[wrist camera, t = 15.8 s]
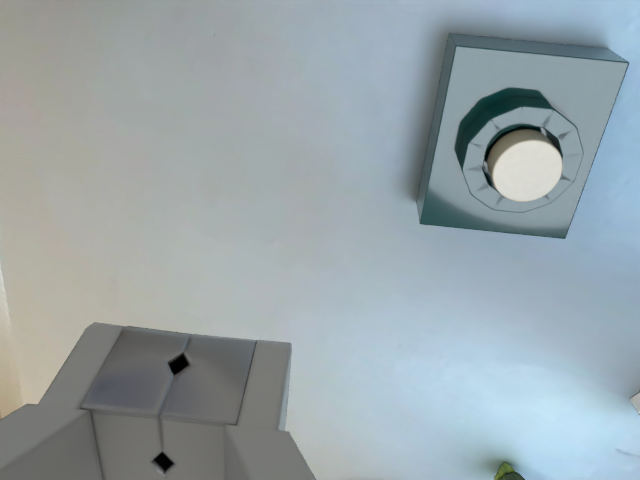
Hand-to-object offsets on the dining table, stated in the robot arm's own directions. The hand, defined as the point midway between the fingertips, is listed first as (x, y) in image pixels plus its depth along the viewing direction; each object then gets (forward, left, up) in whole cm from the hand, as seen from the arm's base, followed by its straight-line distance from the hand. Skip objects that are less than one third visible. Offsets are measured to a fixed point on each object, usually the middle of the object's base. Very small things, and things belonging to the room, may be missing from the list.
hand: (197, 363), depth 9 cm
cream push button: (+7, +13, -26) cm, 30 cm away
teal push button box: (+7, +13, -31) cm, 34 cm away
